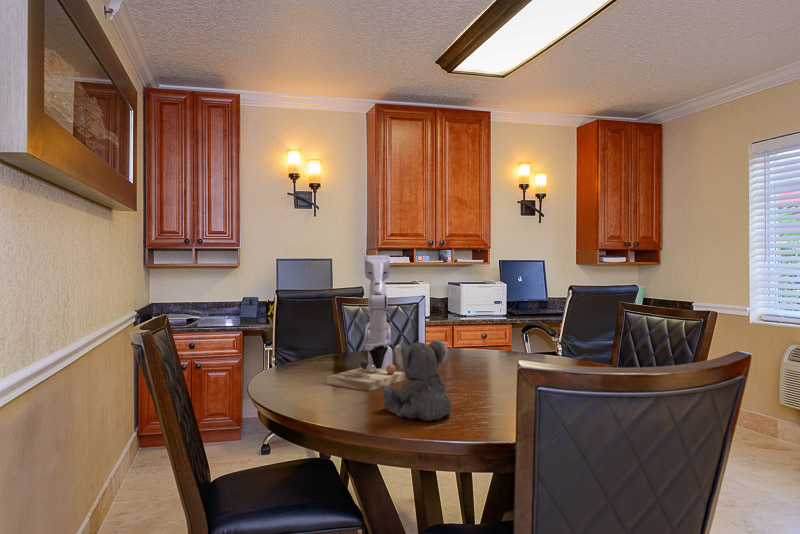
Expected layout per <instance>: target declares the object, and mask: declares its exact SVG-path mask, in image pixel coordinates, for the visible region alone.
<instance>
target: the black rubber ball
mask: <svg viewBox="0 0 800 534" xmlns="http://www.w3.org/2000/svg"><path fill="white" fill-rule="evenodd" d="M359 365H360V368H363V369H366V368H367V366H368V365H369V362H368V359H363V360H361V361H360V362H359Z"/></svg>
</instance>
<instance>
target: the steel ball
mask: <svg viewBox="0 0 800 534" xmlns="http://www.w3.org/2000/svg"><path fill="white" fill-rule="evenodd" d="M375 370H376V366H375V365H374V364H369V365H368V366H367V371H368V372H369V373H374V372H375Z"/></svg>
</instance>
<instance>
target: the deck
mask: <svg viewBox="0 0 800 534" xmlns="http://www.w3.org/2000/svg"><path fill="white" fill-rule="evenodd" d="M405 380H406V374H405V371H399V370H398V371H397V370H395V372H394V373H393V374H389V373H387V371H386V370H385V369H377V368H376V370H375V372H374V373H369V372H368V371H367V368H366V369H363V368H361V367H358V368H354V369H350V370H345V371H343V372H339V373H335V374H331V375H328V376H326V385H332V386H338V387H343V388H349V389H356V390H363V391H366V390H367V392H370V391H373V390H376V389H377V390H378V389H380V388H383V387H384V388H385V386H388V385H389V386H391V385H393V384H396V383H399V382H402V381H405Z"/></svg>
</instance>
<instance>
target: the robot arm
mask: <svg viewBox="0 0 800 534" xmlns="http://www.w3.org/2000/svg"><path fill="white" fill-rule="evenodd" d="M390 257H391V256H390V255H389V254H385V255H384V254H383V255H382V254H381V255H373V254H372V255H367V254H365V256H364V275H365V278H366V279H368V280H369V282H370V283H369V297H368V313H369V321H368V322H367V323H366V324H365V325H364V350H365V351H367V361H368V362H369V364H374V365H375V366H376V368H377V369H385V370H386V368H387V366H388V365H390V364H392V365H393V350H392V347H390V345H391V342H392V341H391V338H392V333H391V326H390V323H389V322H387V311H388V295H387V291H386V287H387V286H386V282H385V280H387V279H389V276H390V271H391V258H390Z"/></svg>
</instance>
